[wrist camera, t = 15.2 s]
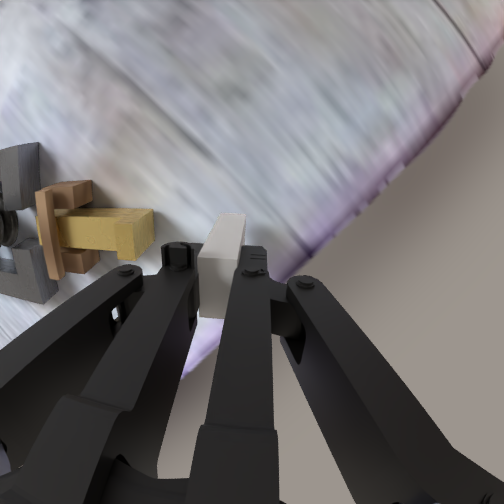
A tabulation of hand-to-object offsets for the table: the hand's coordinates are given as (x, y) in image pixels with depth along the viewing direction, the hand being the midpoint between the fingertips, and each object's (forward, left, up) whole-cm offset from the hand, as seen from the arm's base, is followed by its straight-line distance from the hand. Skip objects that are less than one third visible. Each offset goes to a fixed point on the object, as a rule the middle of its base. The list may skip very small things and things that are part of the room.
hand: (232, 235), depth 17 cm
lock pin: (0, -10, -1) cm, 10 cm away
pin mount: (0, -12, -2) cm, 12 cm away
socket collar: (0, -22, -2) cm, 22 cm away
